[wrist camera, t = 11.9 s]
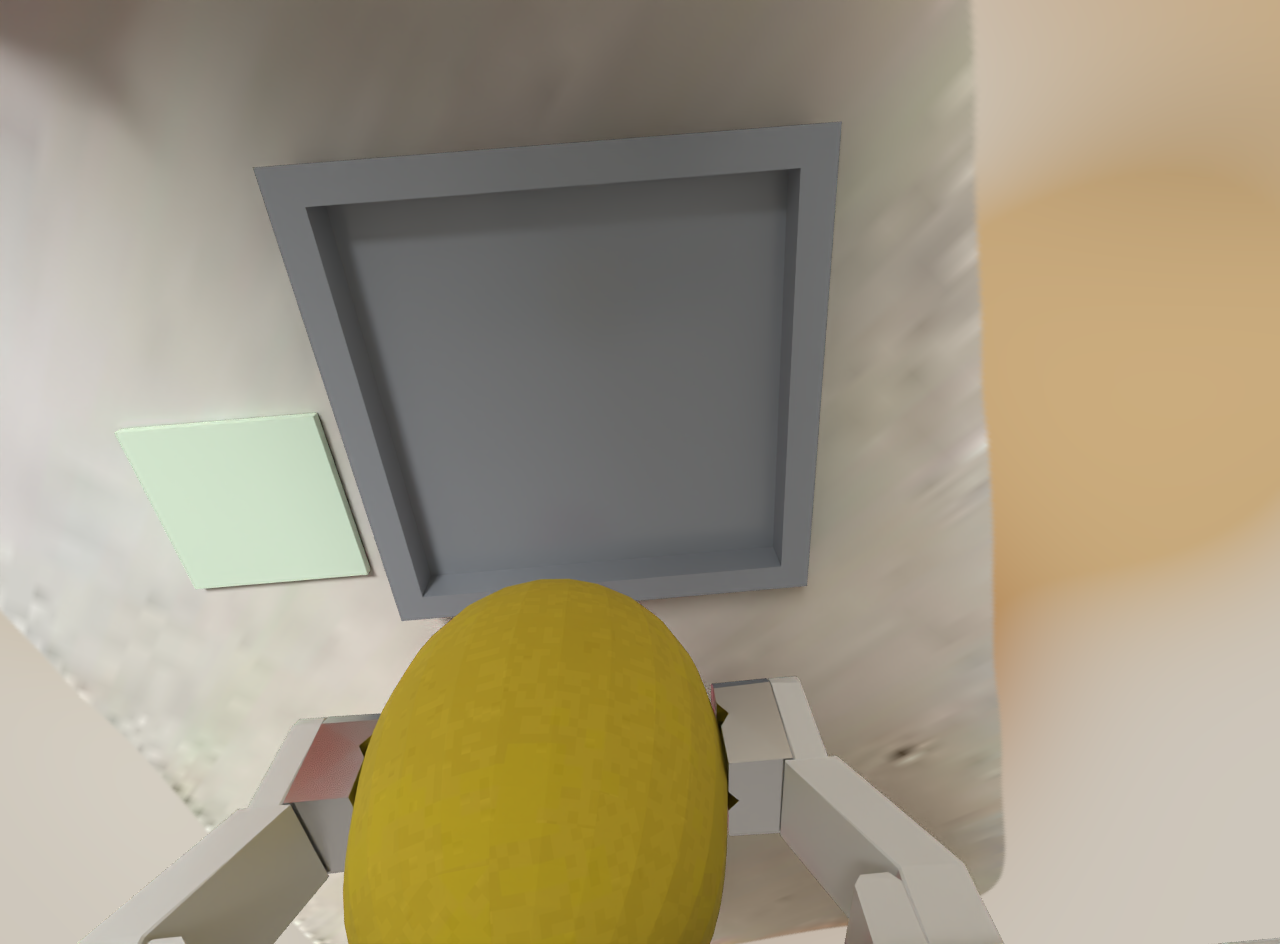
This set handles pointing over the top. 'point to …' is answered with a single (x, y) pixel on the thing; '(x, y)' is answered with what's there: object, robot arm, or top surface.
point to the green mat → (248, 499)
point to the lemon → (542, 782)
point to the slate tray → (574, 356)
